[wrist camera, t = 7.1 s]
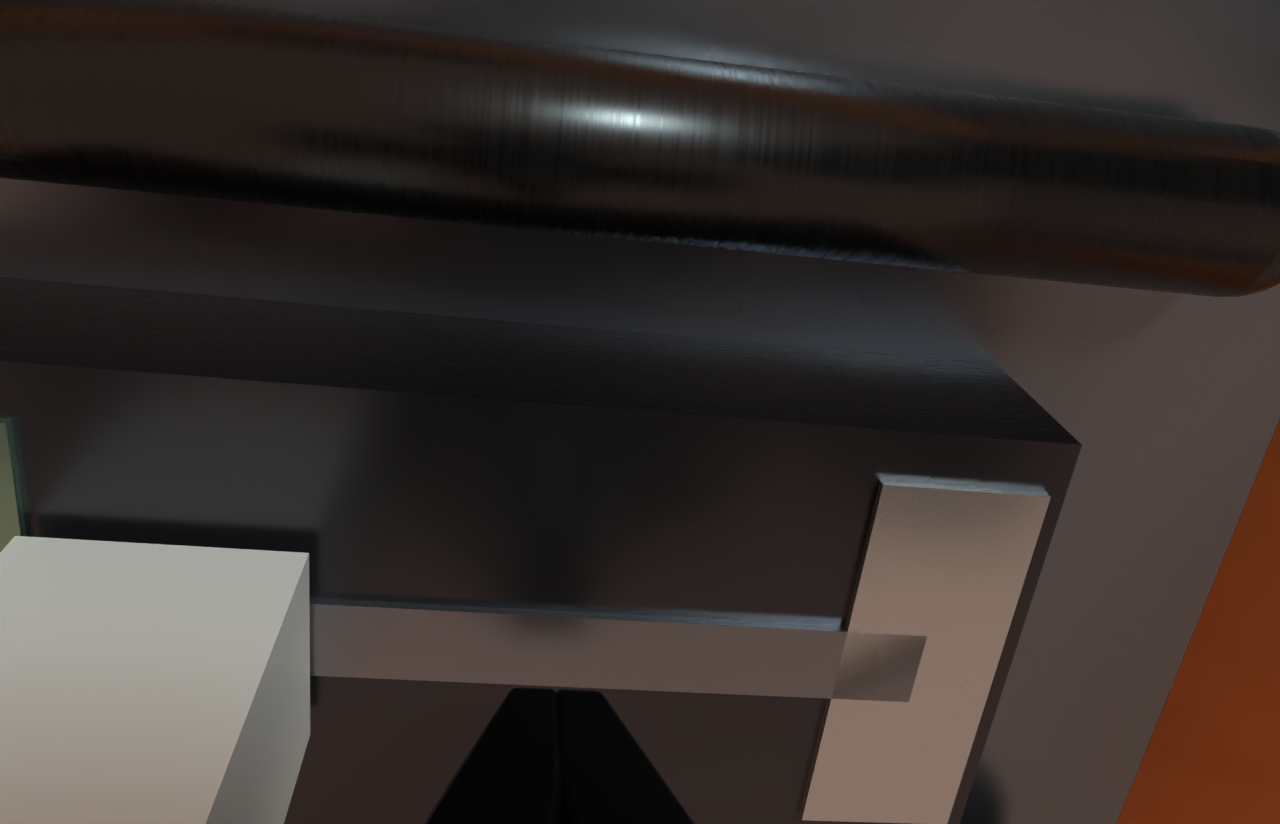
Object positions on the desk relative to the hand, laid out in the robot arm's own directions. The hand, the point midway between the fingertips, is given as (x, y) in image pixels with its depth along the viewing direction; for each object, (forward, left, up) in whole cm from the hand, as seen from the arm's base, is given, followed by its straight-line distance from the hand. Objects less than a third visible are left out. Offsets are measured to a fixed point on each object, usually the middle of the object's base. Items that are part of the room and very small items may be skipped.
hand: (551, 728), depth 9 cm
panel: (+1, 0, -5) cm, 5 cm away
